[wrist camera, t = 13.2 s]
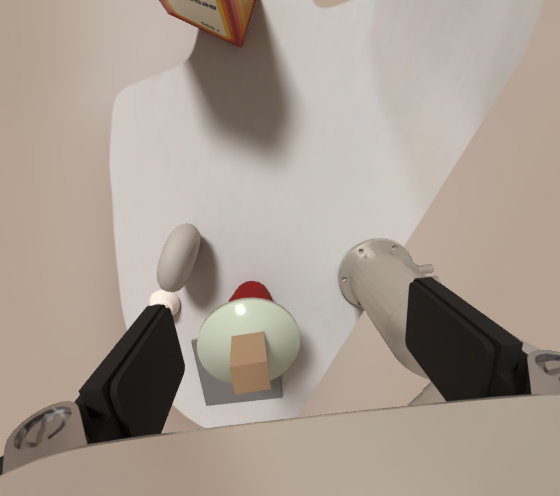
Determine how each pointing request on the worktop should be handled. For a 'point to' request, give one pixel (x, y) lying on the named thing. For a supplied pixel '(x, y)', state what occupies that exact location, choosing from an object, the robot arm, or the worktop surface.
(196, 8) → the baking soda box
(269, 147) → the worktop surface
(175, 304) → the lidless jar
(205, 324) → the lid
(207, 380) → the mat
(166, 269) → the donut
